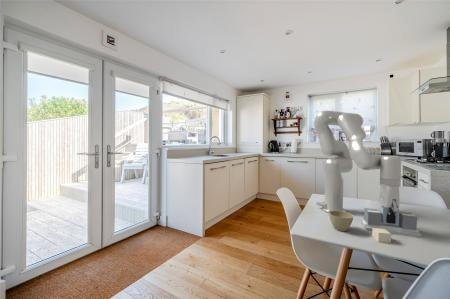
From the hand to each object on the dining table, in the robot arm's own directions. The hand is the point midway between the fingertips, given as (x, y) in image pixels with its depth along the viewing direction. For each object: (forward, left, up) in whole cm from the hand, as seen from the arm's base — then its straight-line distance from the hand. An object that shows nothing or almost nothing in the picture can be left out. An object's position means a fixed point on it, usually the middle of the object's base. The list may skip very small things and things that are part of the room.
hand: (388, 220), depth 94 cm
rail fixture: (0, 0, -4) cm, 4 cm away
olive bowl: (-21, -7, -4) cm, 23 cm away
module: (0, 0, -1) cm, 1 cm away
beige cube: (-7, -13, -4) cm, 15 cm away
